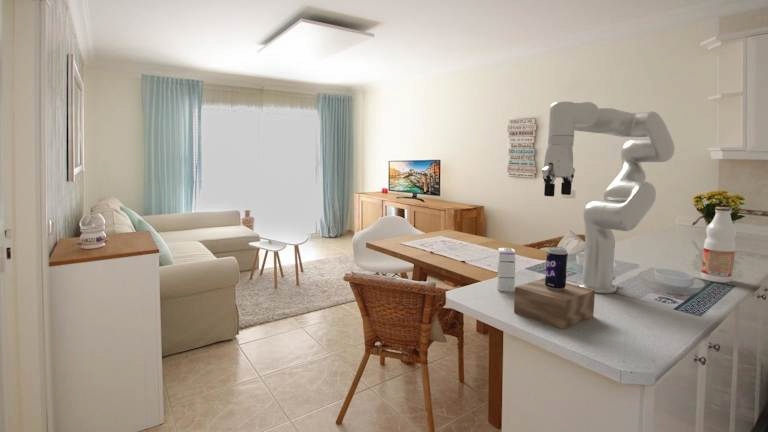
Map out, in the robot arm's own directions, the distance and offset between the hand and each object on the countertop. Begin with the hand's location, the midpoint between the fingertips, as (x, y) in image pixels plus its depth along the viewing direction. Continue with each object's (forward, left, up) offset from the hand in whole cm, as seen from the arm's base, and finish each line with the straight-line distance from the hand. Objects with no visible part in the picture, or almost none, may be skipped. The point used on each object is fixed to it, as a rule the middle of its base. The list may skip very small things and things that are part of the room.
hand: (557, 195), depth 136 cm
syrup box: (+5, -15, -34) cm, 38 cm away
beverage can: (+14, +9, -26) cm, 31 cm away
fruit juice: (-70, +26, -34) cm, 82 cm away
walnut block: (+14, +9, -34) cm, 38 cm away
